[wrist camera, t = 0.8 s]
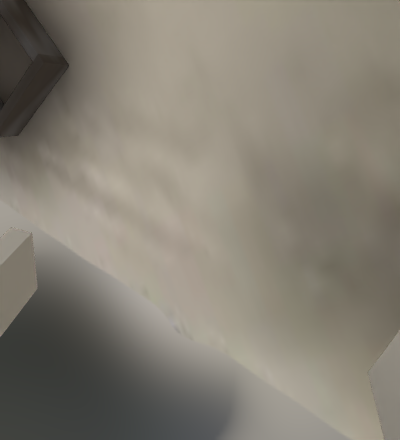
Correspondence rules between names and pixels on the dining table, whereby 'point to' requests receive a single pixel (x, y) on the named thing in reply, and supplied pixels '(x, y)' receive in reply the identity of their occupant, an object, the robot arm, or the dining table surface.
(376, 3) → the dining table surface
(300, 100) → the dining table surface
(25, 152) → the dining table surface
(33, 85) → the awning stand
